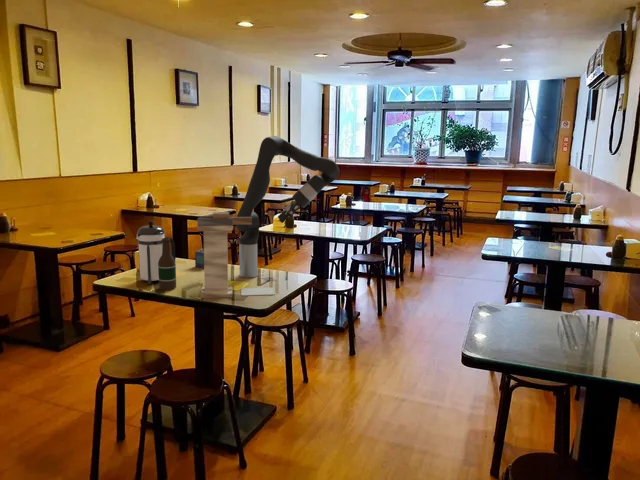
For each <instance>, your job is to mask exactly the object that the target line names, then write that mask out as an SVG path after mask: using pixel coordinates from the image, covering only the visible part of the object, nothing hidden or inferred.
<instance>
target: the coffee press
mask: <svg viewBox="0 0 640 480" xmlns="http://www.w3.org/2000/svg"><path fill="white" fill-rule="evenodd" d="M136 232H137V233H136V237H135V239H136V240H137V245H138V246H137V247H138V264H139V265H138V266H139V276H138V278H137V282H141V281H142V280H143V281H147V285H149V286H150V285H152V283H153V282H154V281H159V274H158V262H159V259H160V257H161V256H162V239H163V238H170V250H171V255H172V256H173V258H174V260H175V261H176V244H175V240H174V239H173V238H172V237H168V236H165V234H166V231H165V229H164V228H163V227H162V226H160V225H154V221H153V220H149V221H148V225H143V226H141V227H139V228H138V231H136ZM139 278H140V279H139Z"/></svg>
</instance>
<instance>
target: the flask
mask: <svg viewBox="0 0 640 480" xmlns="http://www.w3.org/2000/svg"><path fill="white" fill-rule="evenodd" d="M194 260H195V261H194V263H195V265H194V267H195V268H197V267H199V268H198V269H204V248H199V249H198V250H195V251H194Z"/></svg>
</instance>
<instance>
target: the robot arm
mask: <svg viewBox="0 0 640 480" xmlns="http://www.w3.org/2000/svg"><path fill="white" fill-rule="evenodd" d="M276 156H282V157H286V158H289V159H291V160H293V161H294V162H296V163H297V165H299V166H302V167H303V168H305V169H308V170H311V171H313V172H317V171H319V172H321V173H320V174H319V175H317V174H316V175H313V176H312V177H311V178H310V179H309V180H308V181H307V182H306V183H304V184H303V185H302V186H301V187H299V189H298V190H297V191H296V192H295V193H294V194H293V195H292V198H293V199H294V200H291V201H290V202H289V203H288V204H287V205H286V207H284V208H283V211H282V212H281V213H280V214H279V215H278V216H277V218H278V221H279V222H280V223H282V224H283V223H284V222H286V220H287V219H289V218H292V216H294V214H295V213H296V212H298V210H299V209H300V207H301V208H303V209H304V208H306V207H307V206H308V205H309V204H310V202H312V201H313V200H314V198H315V197H316V196H317V195H318V194H319V193H320V192H321V191H322V190H323V189H324V188H325V187H327V186H328V185H331V184H332V183H333V182H334V181H335V180H336V179H337V178H339V175H340V171H341V170H340V167H339V166H338V164H337V163H336V161H334V160H332V159H331V158H328V157H322V156H318V155H316V154H313V153H311V152H309V151H306V150H303V149H301V148H300V147H298V146H295V145H293V144H292V143H291V142H288V141H287V140H286V139H283V138H282V137H280V136H277V135H272V136H267V137H264V138H263V140H262V141H261V143H260V147H259V151H258V156H257V160H256V163H255V167H254V169H253V173H252V176H251V178H250V181H249V183H248V187H247V191H246V194H245V196H244V199H243V202H242V204H241V205H240V208H239V211H238V212H237V215H236V217H252V224H249V225H235V227H236V229H237V230H238V231H241V232H244V234H243V235H241V236H240V237H239V239H238V240H239V241H238V242H239V243H238V248H239V253H238V254H239V255H238V256H239V257H238V258H239V264H238V265H239V277H241V278H245V279H247V278H250V279H251V278H255V277H257V276H258V240H259V236H260V218H259V215H258V214H257V213H256V212H255V211H254V210H255V208H256V207H257V205H258V204H259V203H260V202H261V201H262V200H263V199H264V198H265V196H266V194H267V192H268V189H269V186H270V182H271V174H270V168H271V164H272V162H273V160H274V158H275V157H276Z"/></svg>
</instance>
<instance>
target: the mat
mask: <svg viewBox="0 0 640 480" xmlns="http://www.w3.org/2000/svg"><path fill="white" fill-rule="evenodd" d="M274 291H275V290H274V287H240V292H241V293H240V295H241V297H254V296H255V297H256V296H275V295H276V294H275V292H274Z"/></svg>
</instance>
